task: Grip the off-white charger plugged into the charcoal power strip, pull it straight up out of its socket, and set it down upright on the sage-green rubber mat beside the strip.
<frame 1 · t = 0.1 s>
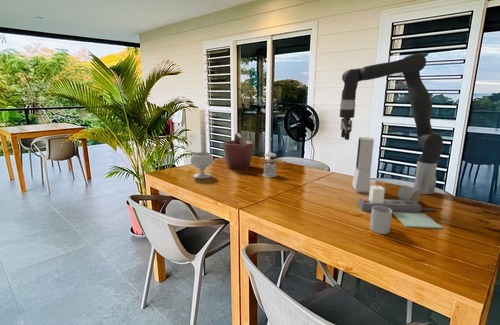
hand: (345, 138, 156), 29 cm above the table, tool pointing down, fingers open, 8 cm apart
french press: (268, 175, 191), on the table
cup: (380, 229, 114), on the table
electronic device: (360, 190, 162), on the table
power strip: (388, 209, 134), on the table
charger: (375, 205, 134), point 2 cm above the table, touching power strip
ceramic mug: (409, 201, 145), on the table
bucket: (238, 167, 211), on the table
rubber mat: (415, 220, 122), on the table
chalice: (202, 176, 186), on the table
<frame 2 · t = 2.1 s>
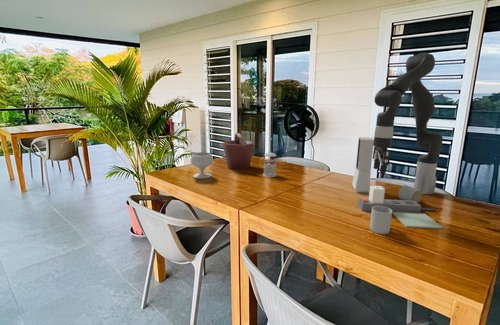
hand: (379, 171, 130), 18 cm above the table, tool pointing down, fingers open, 8 cm apart
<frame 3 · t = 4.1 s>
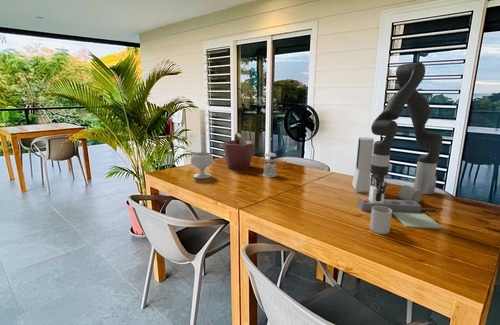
hand: (376, 198, 134), 5 cm above the table, tool pointing down, fingers closed on charger, 5 cm apart
charger: (375, 205, 134), point 2 cm above the table, touching gripper, power strip
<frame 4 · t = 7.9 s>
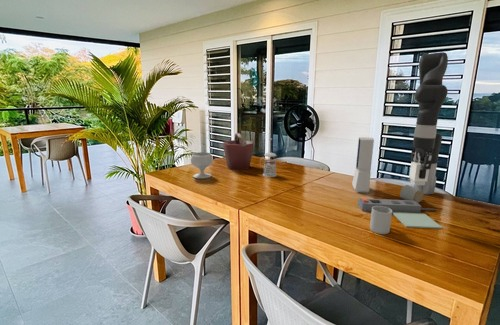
hand: (418, 176, 118), 19 cm above the table, tool pointing down, fingers closed on charger, 5 cm apart
charger: (417, 183, 119), point 16 cm above the table, touching gripper
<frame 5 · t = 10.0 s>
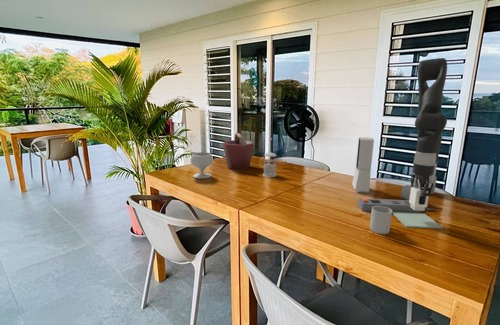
hand: (418, 201, 120), 9 cm above the table, tool pointing down, fingers closed on charger, 5 cm apart
charger: (417, 208, 121), point 5 cm above the table, touching gripper
when the fingers open (5 cm above the table, at t = 11.6 s): charger drops 1 cm, resting on rubber mat.
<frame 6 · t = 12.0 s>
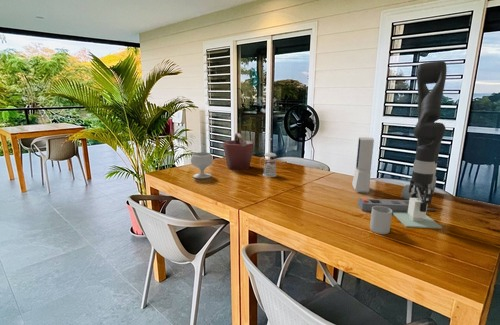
hand: (417, 207, 121), 6 cm above the table, tool pointing down, fingers open, 8 cm apart
charger: (415, 219, 122), point 1 cm above the table, touching rubber mat
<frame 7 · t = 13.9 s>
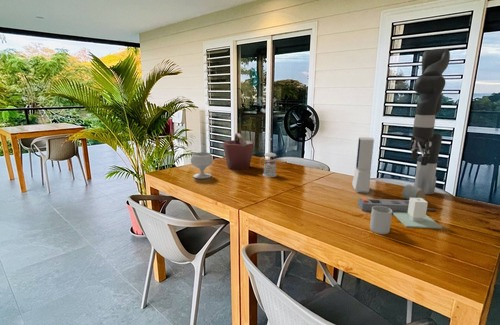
hand: (418, 162, 123), 24 cm above the table, tool pointing down, fingers open, 8 cm apart
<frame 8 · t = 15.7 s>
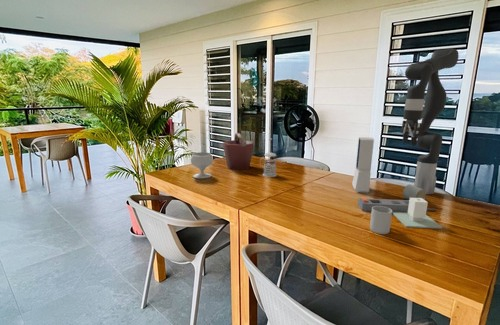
hand: (408, 143, 134), 30 cm above the table, tool pointing down, fingers open, 8 cm apart
at the end: charger inside the target area (0.0 cm from its centre), point 0.6 cm above the table; charger tilted 0°; the gripper is holding nothing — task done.
